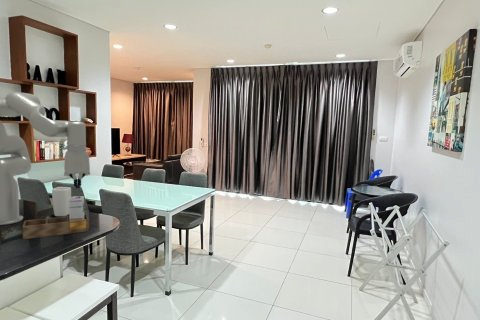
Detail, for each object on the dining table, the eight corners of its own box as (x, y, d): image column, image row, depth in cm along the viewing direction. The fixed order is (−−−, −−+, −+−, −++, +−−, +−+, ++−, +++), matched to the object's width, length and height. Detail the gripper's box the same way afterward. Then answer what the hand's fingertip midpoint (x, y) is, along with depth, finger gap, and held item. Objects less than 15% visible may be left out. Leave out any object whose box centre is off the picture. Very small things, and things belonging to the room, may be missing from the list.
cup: (72, 213, 163) (72, 187, 162) (65, 217, 156) (64, 190, 154) (59, 213, 163) (58, 186, 161) (51, 217, 156) (50, 189, 154)
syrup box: (83, 228, 140) (83, 198, 138) (69, 229, 138) (68, 199, 136) (84, 224, 145) (84, 195, 143) (71, 225, 143) (70, 196, 141)
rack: (22, 239, 127) (22, 226, 126) (24, 232, 134) (24, 220, 134) (88, 231, 140) (88, 219, 139) (87, 225, 147) (87, 214, 147)
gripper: (57, 149, 130) (58, 190, 132) (95, 149, 137) (96, 188, 140) (57, 147, 136) (58, 187, 138) (94, 147, 144) (94, 185, 146)
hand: (77, 187), depth 139 cm, fingers closed
